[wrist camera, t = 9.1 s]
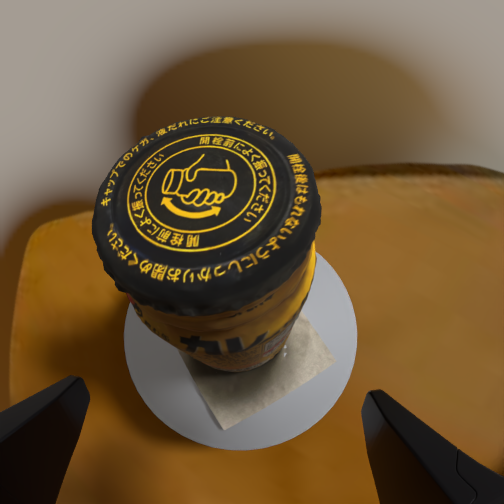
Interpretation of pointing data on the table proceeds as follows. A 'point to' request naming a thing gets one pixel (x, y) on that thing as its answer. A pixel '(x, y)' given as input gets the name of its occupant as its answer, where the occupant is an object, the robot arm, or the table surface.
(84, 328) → the table surface
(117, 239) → the condiment
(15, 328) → the table surface
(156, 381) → the round white stand
